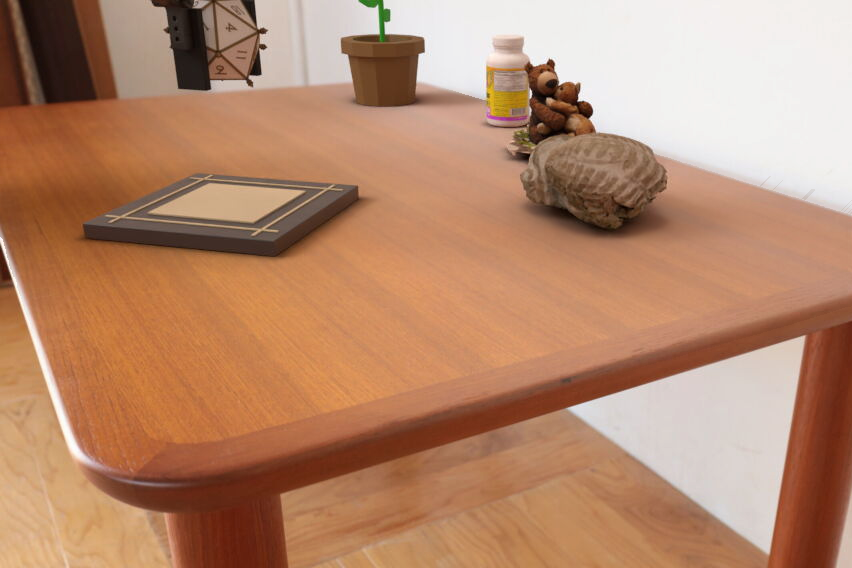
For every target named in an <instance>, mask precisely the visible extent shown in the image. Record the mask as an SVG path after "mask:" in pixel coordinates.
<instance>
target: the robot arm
mask: <svg viewBox="0 0 852 568" xmlns="http://www.w3.org/2000/svg"><path fill="white" fill-rule="evenodd" d="M150 1H151V4H152V6H153V7H155V8H164V9H165V13H166V19H167V27H168V28H169V34H168V35H169V41H170V45H172V48H173V49H172V54H173V55H172V56H173V59H174V60H173V62H174V69H175V75H176V83H177V89H178V90H189V91H200V92H201V91H202V92H208V91H211V90H212V84H211V80H210V74H209V66H208V57H207V49H206V41H205V33H204V24H203V16H202V8H192V7H193V6H194V0H150ZM242 2H243V4H244V5H245V7H246V9H247V11H248V12H249V14H250V16H251V17H252V19H253V21H254V22H255V24H256V26H257V27H258V21H257V10H256V0H242ZM260 50H261V49H259V50H258V53H257V56H256V59H255V61H254V64H253V67H252V70H251V72H250V75H249V77H250V76H251V77H260V76H262V75H263V71H262V62H261V61H262V60H261V52H260Z"/></svg>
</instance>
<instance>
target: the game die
mask: <svg viewBox="0 0 852 568" xmlns="http://www.w3.org/2000/svg"><path fill="white" fill-rule="evenodd" d="M192 8H202V16H203V24H204V33H205V41H206V49H207V57H208V66H209V74H210V81H221V82H223V81H245V82H246V84H247V86H248V87H250V88H254V81H252V79H251V78H250V72H251V70H252V67H253V64H254V61H255V59H256V56H257V53H258V50H261V51H265V50H266V49H268V48H269V47H268V46H267V45H266V44H265V43H261V35H266V34H267V33H268V31H269V29H267V28H265V27H264V26H263V27H260V28H259V27H258V25H257V26H256V24H255V22H254V21H253V19H252V17H251V16H250V14H249V12H248V11H247V9H246V7H245V5H244V4H243V2H242V0H194V6H193V7H192ZM162 31H163V32H165V34H168V35H169V27H168V26H166V27H164V28H163V29H162ZM169 49H170V50H173V48H172V45H171V44H170V46H169Z"/></svg>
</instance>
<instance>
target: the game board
mask: <svg viewBox="0 0 852 568" xmlns="http://www.w3.org/2000/svg"><path fill="white" fill-rule="evenodd" d="M359 196H360V195H359V185H356V184H355V185H354V184H342V183H331V182H329V183H328V182H319V181H304V180H293V179H291V180H289V179H278V178H277V179H276V178H266V177H265V178H264V177H253V176H252V177H251V176H239V175H226V174H213V173H202V172H200V173H199V172H196V173H193V174H191V175H189V176H186V177H184V178H182V179H180V180H177V181H175V182H173V183H171V184H168V185H166V186H164V187H162V188H160V189H157V190H155V191H153V192H150V193H149V194H146V195H143V196H141V197H139V198H136V199H135V200H132V201H130V202H128V203H126V204H123V205H121V206H119V207H117V208H116V207H115V208H114V209H112V210H109V211H107V212H105V213H103V214H100V215H98V216H96V217H93V218H92V219H89V220H87V221H85V222H83V223H82V230H83V233H84V238H85V239H90V240H91V239H92V240H101V241H112V242H122V243H123V242H124V243H133V244H143V245H152V246H153V245H154V246H164V247H173V248H182V249H183V248H184V249H193V250H194V249H196V250H205V251H214V252H226V253H237V254H245V255H246V254H247V255H255V256H256V255H257V256H266V257H276V256H278V255H279V254H281V253H282V252H284V251H285V250H286V249H287V248H290V247H291V246H292V245H294V244H295V243H297V242H298V241H300V240H301V239H303V238H304V237H305V236H307V235H308V234H309V233H311V232H312V231H314V230H315V229H317V228H318V227H320V226H321V225H323V224H324V223H325V222H327V221H328V220H330V219H331V218H334V216H335V215H337V214H339V213H340V212H342V211H343V210H345V209H346V208H347V207H349V206H350V205H352V204H353V203H354V202H357V200H359V199H360V197H359Z"/></svg>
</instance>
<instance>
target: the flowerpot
mask: <svg viewBox="0 0 852 568" xmlns="http://www.w3.org/2000/svg"><path fill="white" fill-rule="evenodd" d="M358 2H359V3H360V4H362V5H363V6H365V7H367V8H371V9H375V8H377V7H378V11H377V12H378V28H379V33H376V34H375V33H371V34H370V33H369V34H356V35H355V34H354V35H349V36H342V37H340V51H341V53H340V54H343V55H347V57H348V58H347V59H348V64H349V69H350V74H351V80H352V85H353V91H354V96H355V102H356V104H359V105H363V106H371V107H397V106H404V105H410V104H413V103H415V102H416V92H417V91H416V90H417V81H418V80H417V79H418V69H419V58H420V57H419V56H420V55H421V54H425V53H426V43H425V41H426V40H425V37H423V36H417V35H412V34H399V33H398V34H397V33H395V34H394V33H387V34H386V23H389V22H391V9H390V8H388V7H387V8H385V5H384V3H385V2H384V0H358Z"/></svg>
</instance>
